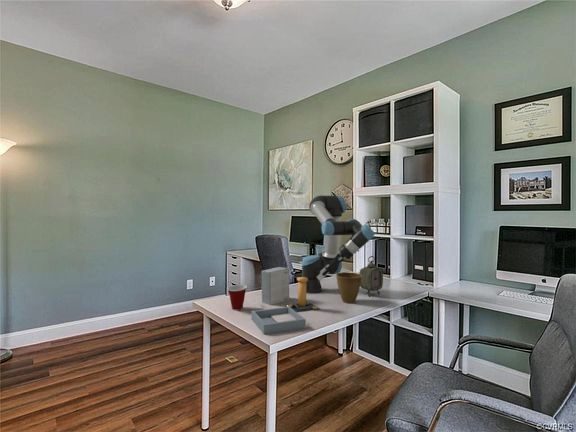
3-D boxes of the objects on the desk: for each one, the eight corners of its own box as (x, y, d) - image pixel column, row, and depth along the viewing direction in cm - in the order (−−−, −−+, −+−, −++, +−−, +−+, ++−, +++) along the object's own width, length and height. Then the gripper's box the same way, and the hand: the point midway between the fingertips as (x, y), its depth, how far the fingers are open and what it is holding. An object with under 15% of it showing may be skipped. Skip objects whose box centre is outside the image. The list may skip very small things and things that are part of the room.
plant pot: (331, 299, 186) (331, 273, 186) (352, 296, 192) (352, 271, 191) (344, 306, 172) (345, 278, 172) (366, 303, 178) (366, 276, 178)
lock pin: (304, 305, 169) (304, 276, 168) (309, 308, 163) (309, 278, 163) (295, 306, 166) (295, 277, 166) (299, 309, 161) (299, 279, 161)
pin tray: (288, 314, 159) (288, 306, 159) (305, 327, 140) (305, 319, 140) (251, 319, 151) (251, 311, 151) (263, 334, 133) (263, 325, 133)
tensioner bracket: (310, 305, 173) (310, 300, 173) (320, 312, 162) (320, 306, 162) (284, 308, 167) (284, 303, 167) (292, 315, 156) (292, 310, 156)
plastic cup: (223, 307, 168) (223, 286, 168) (240, 304, 175) (240, 283, 175) (233, 313, 160) (233, 290, 160) (250, 309, 167) (250, 287, 167)
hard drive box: (280, 299, 185) (281, 266, 185) (289, 302, 180) (290, 268, 180) (261, 304, 174) (261, 270, 174) (269, 307, 169) (270, 272, 169)
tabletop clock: (370, 298, 189) (370, 257, 189) (358, 295, 196) (358, 256, 196) (382, 294, 199) (383, 255, 199) (370, 291, 206) (371, 254, 205)
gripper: (353, 257, 146) (322, 287, 150) (354, 251, 170) (327, 276, 174) (342, 246, 147) (311, 275, 151) (344, 241, 172) (317, 267, 175)
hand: (319, 276), depth 162 cm, fingers open, 13 cm apart
